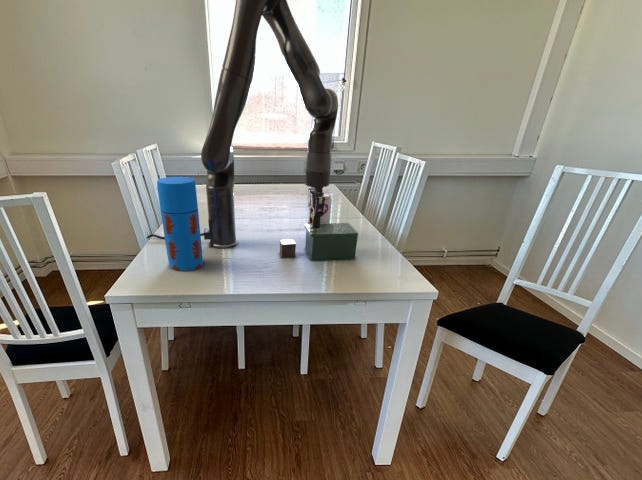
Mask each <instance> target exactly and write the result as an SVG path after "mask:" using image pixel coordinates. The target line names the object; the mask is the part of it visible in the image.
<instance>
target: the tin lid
mask: <svg viewBox="0 0 642 480" xmlns="http://www.w3.org/2000/svg"><path fill="white" fill-rule="evenodd" d="M310 216H311V218H312V224H308V223H304V224H303V225H304V229H305V231H306V230H307V232H308V233H309V235H310V237H328V236H358V237H359V233H358V231H357V230H356V229H355V228H354V227H353V226H352V225H351V224H350V222H334V223H333V222H330V223H326V224H320V228H313V212H312V213H311V214H310Z"/></svg>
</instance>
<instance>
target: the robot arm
mask: <svg viewBox="0 0 642 480" xmlns="http://www.w3.org/2000/svg"><path fill="white" fill-rule="evenodd" d="M262 17H263V19H264V20H265V21H266V23H267V24H268V25H269V27H270V29H271V30H272V32H273V35H274V37H275V38H276V41H277V43H278V46H279V49H280V51H281V55H282V58H283V60H284V62H285V65H286V67H287V69H288V70H289V72H290V74H291V76H292V78H293V80H294V81H295V83H296V85H297V86H298V91H299V94H300V98H301V100H302V104H303V105H304V108H305V110H306V111H307V113H308V115H310V117H311V118H313V124H312V128H311V129H310V130H309V132H308V136H307V153H306V157H305V158H306V160H305V174H304V175H305V177H304V184H305V186H306V187H308V202H307V203H308V205H307V208H308V209H309V211H310V214H311V213H312V212H313V228H320V217H321V216H323V210H324V202H325V197H324V193H325V192H323V191H324V190H323V188H326V187H328V186H330V181H331V171H332V170H331V168H332V145H333V134H334V130H335V126H336V122H337V118H338V112H339V98H338V95H337V93H336V92H335V91H334V90H333V89H331V88H325V85H324V84H323V82H322V80H321V76H320V75H321V70H320V66H319V65H318V62H317V60H316V58H315V56H314V55H313V52H312V51H311V49H310V47H309V45H308V43H307V42H306V40H305V37H304V36H303V34H302V32H301V30H300V29H299V26H298V25H297V23H296V20H295V18H294V16H293V14H292V11H291V8H290V6H289V3H288V0H235V6H234V13H233V19H232V23H231V28H230V32H229V35H228V36H229V37H228V40H227V45H226V50H225V54H224V59H223V63H222V66H221V69H220V75H219V79H218V83H217V89H216V94H215V99H214V104H213V109H212V117H211V121H210V124H209V127H208V130H207V134H206V137H205V140H204V142H203V144H202V145H203V146H202V149H201V151H200V158H201V163H202V165H203V167H204V169H205V170H206V173H207V174H206V175H207V177H206V183H205V192H206V203H207V204H206V205H207V206H206V207H207V217H208V220H207V223H208V228H204V229H203V232H202V233H201V232H200V235H201V237H203V240H205V241H207V240H209V246H210V247H211V248H217V249H224V248H225V249H226V248H231V247H235V246H236V245H237V234H236V209H235V155H234V150H233V147H232V145H233V140H234V135H235V132H236V131H235V130H236V128H237V125H238V123H239V121H240V119H241V116H242V114H243V112H244V110H245V107H246V105H247V102H248V99H249V96H250V93H251V89H252V86H253V83H254V78H255V73H256V59H257V55H256V54H257V37H258V31H259V27H260V23H261V19H262ZM311 200H312V201H311ZM317 209H319V212H317ZM309 222H310V223H312V218H311V216H310V218H309ZM151 238H156V239H159V240H165V236H162V235H157V234H153V233H151V234H148V235H147V237H146V239H147V240H149V239H151Z"/></svg>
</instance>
